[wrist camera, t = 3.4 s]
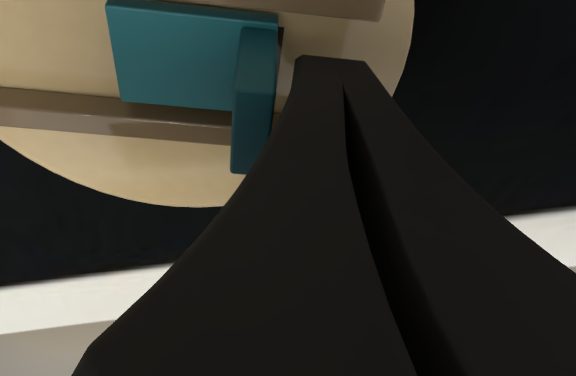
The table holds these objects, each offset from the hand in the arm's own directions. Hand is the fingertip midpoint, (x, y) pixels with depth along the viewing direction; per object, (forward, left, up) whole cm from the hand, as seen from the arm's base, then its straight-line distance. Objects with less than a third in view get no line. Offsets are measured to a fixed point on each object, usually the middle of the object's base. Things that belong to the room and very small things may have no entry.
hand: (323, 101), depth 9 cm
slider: (+2, +2, -1) cm, 3 cm away
